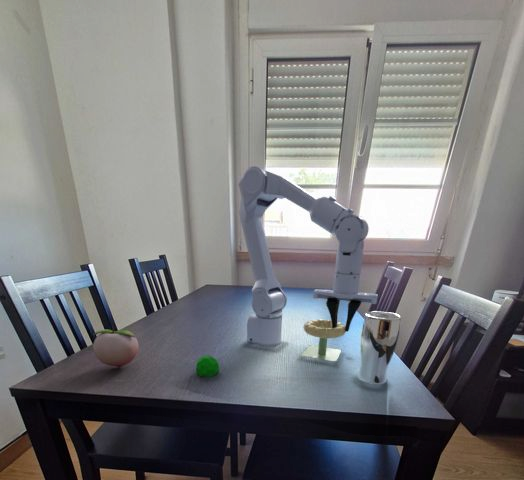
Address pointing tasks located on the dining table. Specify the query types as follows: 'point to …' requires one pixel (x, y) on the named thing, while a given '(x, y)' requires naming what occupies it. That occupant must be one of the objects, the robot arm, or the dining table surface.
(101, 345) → the decorative fruit
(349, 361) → the dining table surface
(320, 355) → the post stand
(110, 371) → the dining table surface
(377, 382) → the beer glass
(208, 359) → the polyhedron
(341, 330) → the ring
